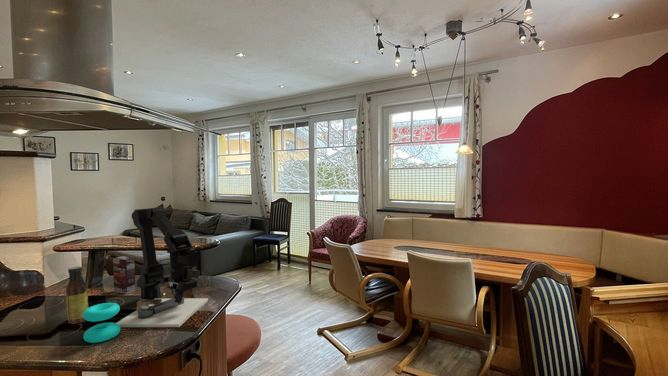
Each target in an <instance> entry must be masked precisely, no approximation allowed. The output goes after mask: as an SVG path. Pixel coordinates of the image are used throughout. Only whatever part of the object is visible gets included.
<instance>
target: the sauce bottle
mask: <svg viewBox="0 0 668 376" xmlns="http://www.w3.org/2000/svg"><path fill="white" fill-rule="evenodd" d="M67 272H68V276H69V277H68V278H69V281H68V283H67V284H66V288H65V293H66V295H65V299H66V315H67V322H68V324H69V325H78V324H82V323H84V322H87V320H85V319H84V318H83V312H84V311H85V310H86V309H87V308H89V295H88V286H87V284H86V282H85V281H84V278H83V266H73V267H69V268H68V269H67Z"/></svg>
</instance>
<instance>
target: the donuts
mask: <svg viewBox="0 0 668 376" xmlns="http://www.w3.org/2000/svg"><path fill="white" fill-rule="evenodd" d="M120 309H121V307H120V305H119V304H118V303H116V302H103V303H97V304H94V305H92V306H88V308H87V309H86V310H85V311H84V312H83V318H84V319H85V320H86V322H95V323H96V322H101V323H98V324H96V325H93V326H90V327H89V328H87V329H86V331H84V334H83V340H84V341H85V342H87V343H90V344H91V343H92V344H94V343H103V342H105V341H108V340H111V339H114V338H115V337H116V336H118V334H120V333H121V328H122V327H120V326H119V325H118V324H117V322H113V321H112V322H111V321H109V322H102V321H106V320H109V319H112V318H113V317H115V316H116V315H118V313H119V312H120Z"/></svg>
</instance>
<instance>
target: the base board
mask: <svg viewBox="0 0 668 376" xmlns="http://www.w3.org/2000/svg"><path fill="white" fill-rule="evenodd" d="M161 299H162V302H164V301H167V300H170V299H171V298H161ZM208 301H209V298H208V297H205V298H204V297H201V298H197V297H196V298H194V297H193V298H191V297H190V298H189V297H188V298H185V297H184V303H183V304H180V305H178V306H175V307H172V308H170V309H167V310H164V311H162V312H159V313H156V314H153V316H151V317H149V318H144V319H140V318H138V312H137V309H136V310H135V311H133V312H131V313H130V314H128V315H127V316H125V317H123V318H122V319H120V320H119V321H117V322H116V323H117V324H118V325H119V326H120V328H180V327H181V326H182V325H183V324H185V322H186V321H188V320H189V319H190V317H192V316H193V315H194V314H195V313H196V312H197V311H198V310H200V309H201V308H202V307H203V306H204V305H205V304H206V303H207V302H208ZM160 303H161V302H160ZM150 306H152V305H149V307H150Z"/></svg>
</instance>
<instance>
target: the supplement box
mask: <svg viewBox="0 0 668 376" xmlns="http://www.w3.org/2000/svg"><path fill="white" fill-rule="evenodd" d="M135 262H136V261H135V257H131V256H118V257H114V258H112V265H113V266H112V268H113V270H112V271H113V273H112V274H113V292H114V293H119V294H124V295H127V294H130V293H134V292H136V265H135V264H136V263H135Z"/></svg>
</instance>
